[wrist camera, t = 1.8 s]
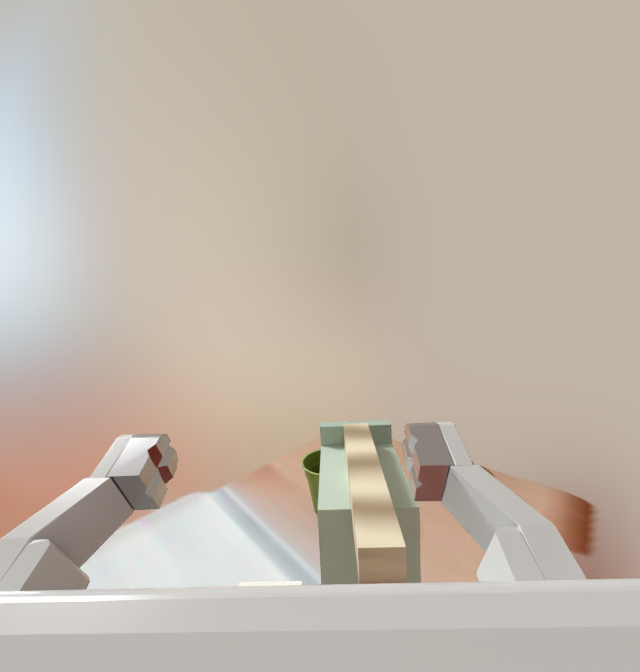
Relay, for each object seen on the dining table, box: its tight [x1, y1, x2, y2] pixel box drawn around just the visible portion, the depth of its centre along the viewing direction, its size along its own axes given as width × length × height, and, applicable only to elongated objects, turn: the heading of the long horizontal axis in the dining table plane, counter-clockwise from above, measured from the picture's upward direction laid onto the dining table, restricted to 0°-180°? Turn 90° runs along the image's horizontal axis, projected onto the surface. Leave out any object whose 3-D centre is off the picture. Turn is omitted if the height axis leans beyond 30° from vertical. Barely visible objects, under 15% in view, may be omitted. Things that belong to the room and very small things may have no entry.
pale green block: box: [318, 420, 421, 585], centre depth 36 cm, size 14×9×30 cm, turn 178°
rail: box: [344, 423, 407, 584], centre depth 30 cm, size 20×3×3 cm, turn 178°
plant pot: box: [301, 449, 321, 515], centre depth 69 cm, size 12×12×11 cm
